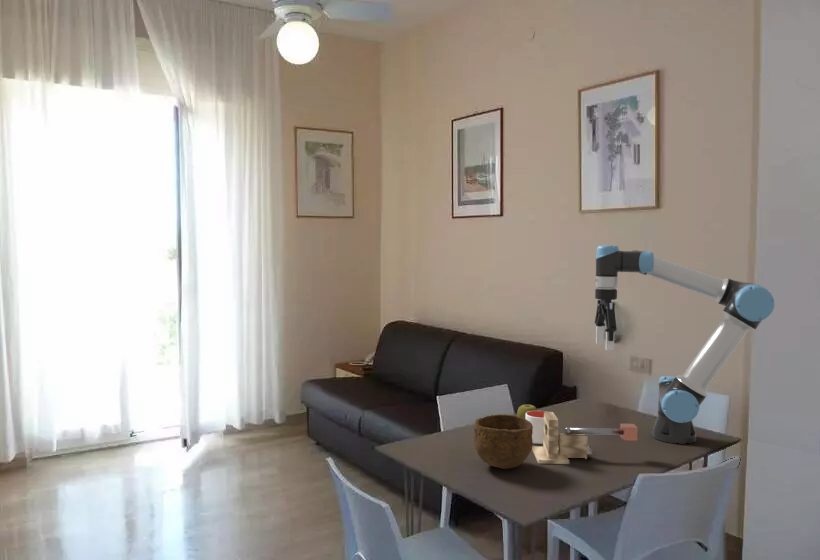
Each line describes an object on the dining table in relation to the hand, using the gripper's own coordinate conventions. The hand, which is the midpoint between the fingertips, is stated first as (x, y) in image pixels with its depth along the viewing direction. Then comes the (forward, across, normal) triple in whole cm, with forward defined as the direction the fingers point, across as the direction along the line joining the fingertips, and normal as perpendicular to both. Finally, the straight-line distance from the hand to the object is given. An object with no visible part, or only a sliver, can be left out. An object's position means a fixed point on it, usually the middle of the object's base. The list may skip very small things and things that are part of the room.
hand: (604, 347), depth 232 cm
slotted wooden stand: (+35, +18, -18) cm, 43 cm away
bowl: (+35, +29, -39) cm, 60 cm away
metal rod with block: (+28, +18, -6) cm, 34 cm away
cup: (+35, +1, -23) cm, 42 cm away
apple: (+35, -22, -24) cm, 48 cm away
